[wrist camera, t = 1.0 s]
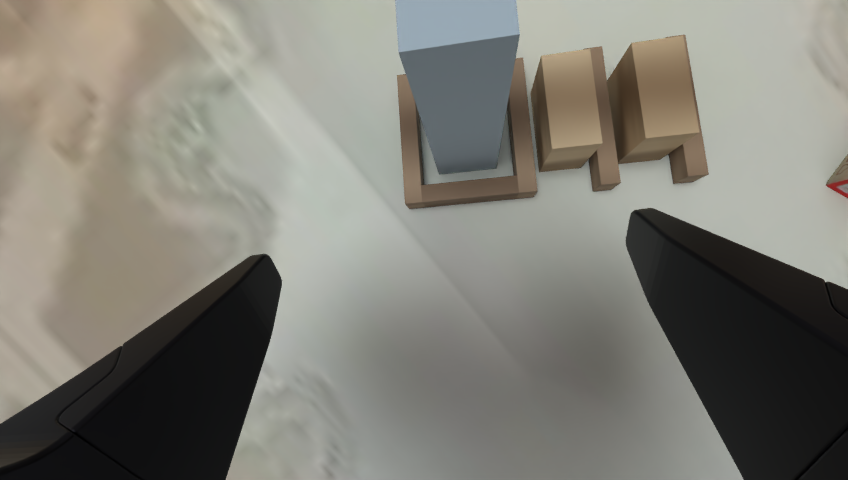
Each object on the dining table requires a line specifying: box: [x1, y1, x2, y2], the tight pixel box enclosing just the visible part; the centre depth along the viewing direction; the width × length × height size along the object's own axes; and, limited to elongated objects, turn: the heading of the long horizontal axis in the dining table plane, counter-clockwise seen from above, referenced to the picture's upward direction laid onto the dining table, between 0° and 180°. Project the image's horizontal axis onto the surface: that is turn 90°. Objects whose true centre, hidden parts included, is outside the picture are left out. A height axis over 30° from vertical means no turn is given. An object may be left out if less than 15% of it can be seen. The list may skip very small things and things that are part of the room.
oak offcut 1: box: [531, 49, 602, 172], centre depth 21 cm, size 5×2×4 cm, turn 4°
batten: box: [395, 0, 520, 174], centre depth 17 cm, size 4×4×12 cm
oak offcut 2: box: [607, 36, 699, 164], centre depth 20 cm, size 5×2×4 cm, turn 4°
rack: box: [397, 35, 709, 209], centre depth 22 cm, size 8×16×2 cm, turn 94°
